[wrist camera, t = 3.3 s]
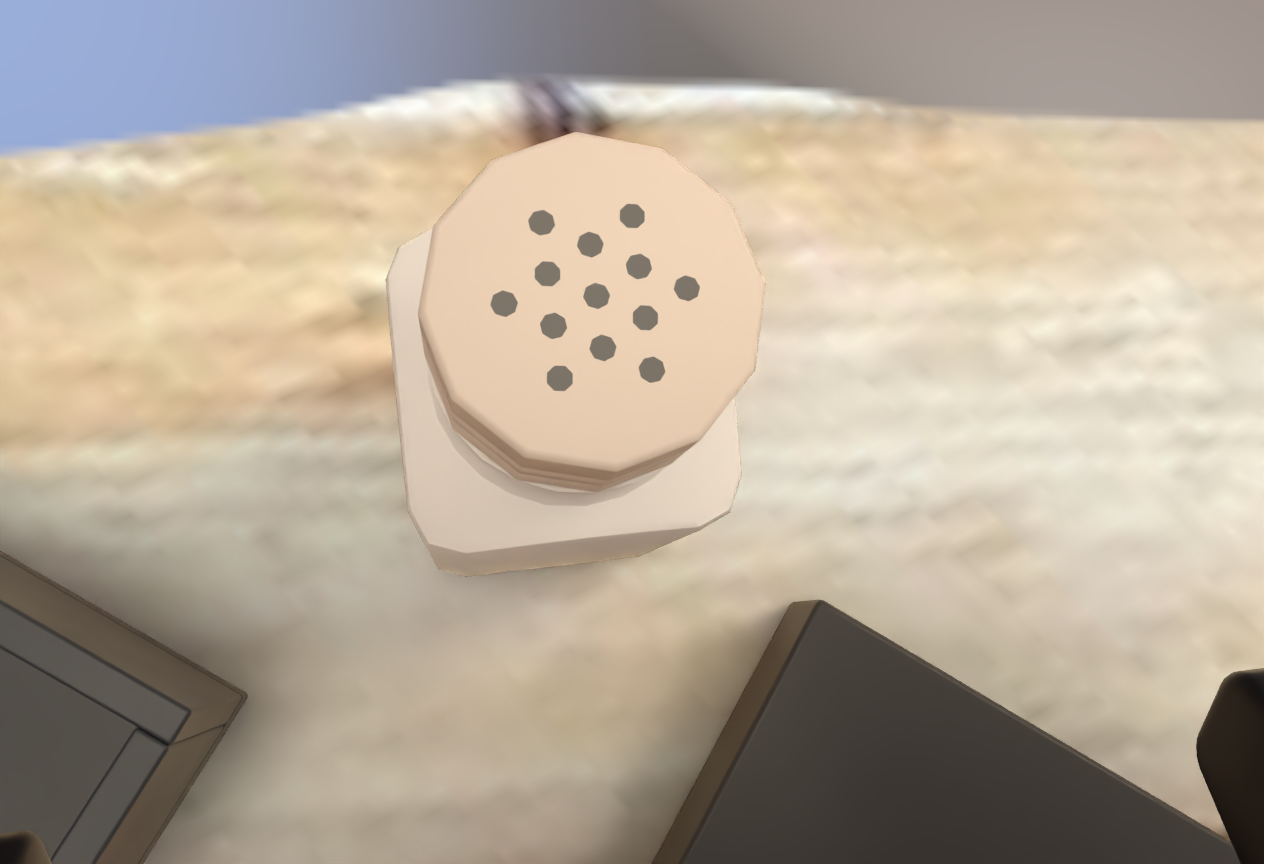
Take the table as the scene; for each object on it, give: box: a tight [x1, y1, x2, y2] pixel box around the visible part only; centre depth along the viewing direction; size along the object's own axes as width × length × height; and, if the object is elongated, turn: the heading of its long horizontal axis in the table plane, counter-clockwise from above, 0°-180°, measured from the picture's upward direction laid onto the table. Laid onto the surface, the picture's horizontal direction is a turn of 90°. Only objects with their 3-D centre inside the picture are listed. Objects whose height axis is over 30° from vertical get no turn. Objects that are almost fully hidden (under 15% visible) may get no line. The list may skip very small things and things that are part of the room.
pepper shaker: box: [386, 132, 766, 577], centre depth 16 cm, size 4×4×10 cm
